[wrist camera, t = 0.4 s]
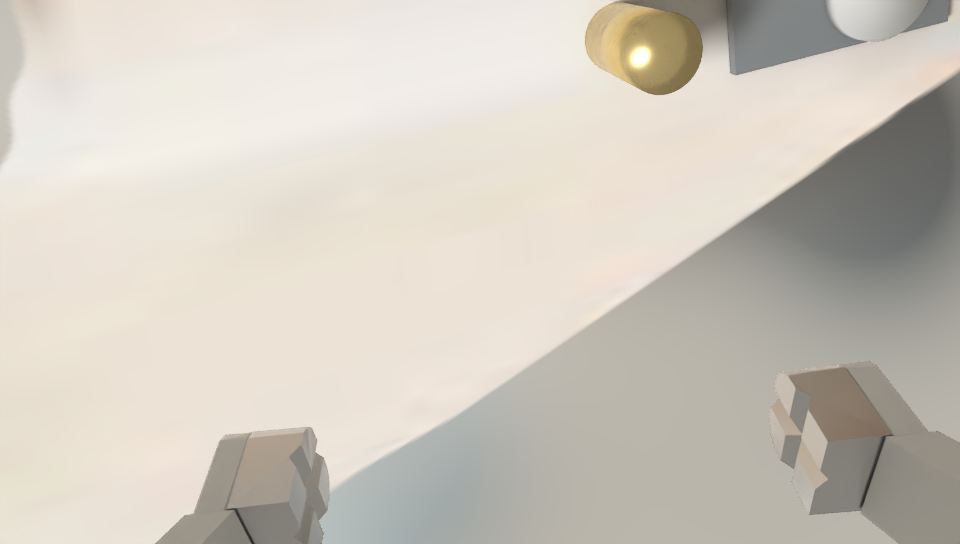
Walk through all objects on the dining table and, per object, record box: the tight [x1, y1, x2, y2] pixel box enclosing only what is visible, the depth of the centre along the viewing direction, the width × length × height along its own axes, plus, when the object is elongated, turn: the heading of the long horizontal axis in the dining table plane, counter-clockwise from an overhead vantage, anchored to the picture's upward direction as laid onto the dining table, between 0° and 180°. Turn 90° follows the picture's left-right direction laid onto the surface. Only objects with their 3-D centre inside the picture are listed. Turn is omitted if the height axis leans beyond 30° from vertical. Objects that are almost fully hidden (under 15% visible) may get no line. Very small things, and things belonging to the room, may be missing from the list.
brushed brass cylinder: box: [585, 2, 703, 95], centre depth 49 cm, size 5×5×10 cm
